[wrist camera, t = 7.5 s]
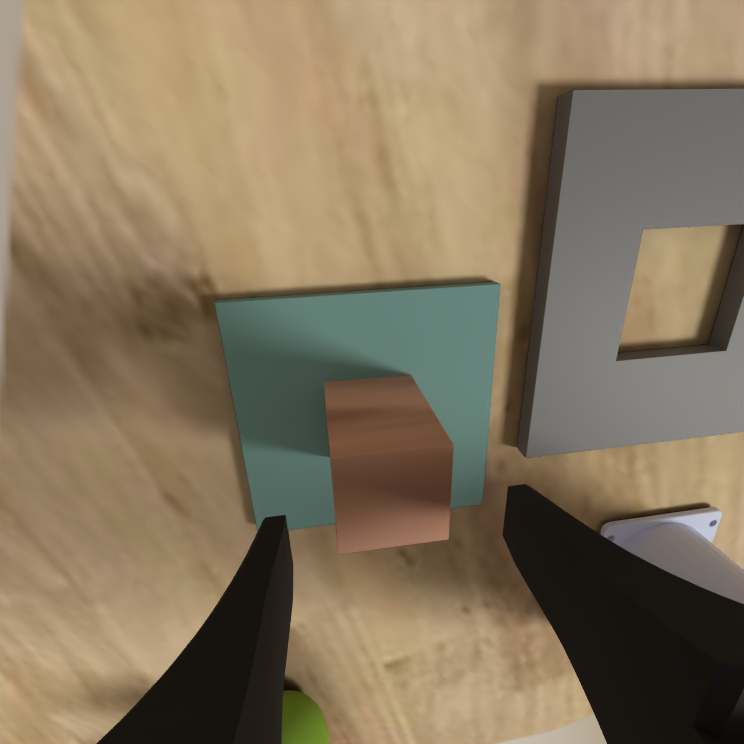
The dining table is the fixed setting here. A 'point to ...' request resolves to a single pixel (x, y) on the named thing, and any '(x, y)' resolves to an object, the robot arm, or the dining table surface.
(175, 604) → the dining table surface
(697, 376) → the charcoal pocket board
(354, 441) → the terracotta block
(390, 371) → the teal mat
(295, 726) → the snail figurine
